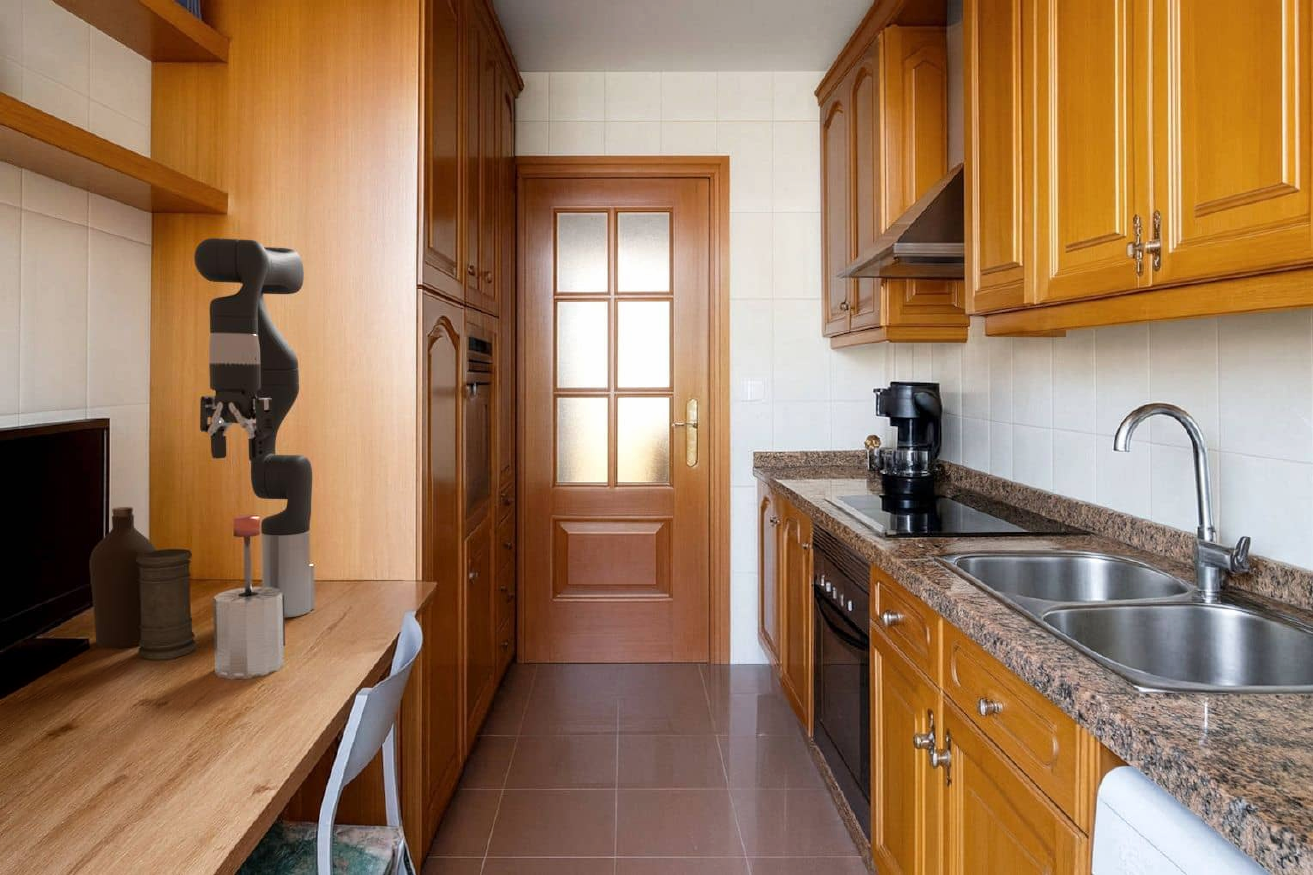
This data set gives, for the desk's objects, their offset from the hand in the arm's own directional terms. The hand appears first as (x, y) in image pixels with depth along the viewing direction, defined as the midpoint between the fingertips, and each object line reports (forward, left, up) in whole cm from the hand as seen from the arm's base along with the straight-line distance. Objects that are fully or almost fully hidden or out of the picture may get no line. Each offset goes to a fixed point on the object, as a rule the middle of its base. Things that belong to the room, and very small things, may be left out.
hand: (237, 459), depth 135 cm
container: (-1, -19, -36) cm, 41 cm away
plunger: (-1, +1, -27) cm, 27 cm away
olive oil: (-2, -31, -36) cm, 48 cm away
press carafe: (-1, +1, -36) cm, 36 cm away
